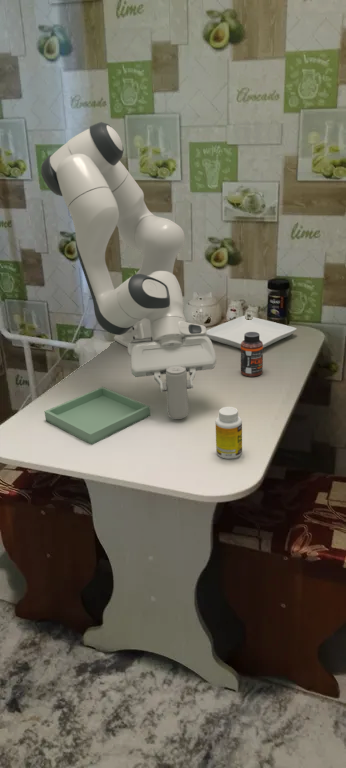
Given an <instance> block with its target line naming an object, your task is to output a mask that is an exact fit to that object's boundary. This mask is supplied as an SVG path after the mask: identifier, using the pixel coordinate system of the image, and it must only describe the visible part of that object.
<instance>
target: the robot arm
mask: <svg viewBox="0 0 346 768" xmlns="http://www.w3.org/2000/svg"><path fill="white" fill-rule="evenodd" d="M123 155H124V146H123V141H122V139H121V137H120V135H119V133H118V132H117V131H116V130H115V129H114V128H113V127H112V126H111V125H110V124H108V123H105V122H102V121H101V122H97V123H94V124H92V125H90V126H89V128H88V129H84V130H83V131H82V132H79V133H78V134H76V135H74V136H73V137H71V138H70V139H69V140H67V142H66V143H65V144H63V145H61V147H59V148H57V150H55V152H53V154H50V155H48V156H47V157H46V158H45V159H44V161H43V162H42V163H41V170H40V175H41V176H42V179H43V182H44V183H45V184H46V186H47V188H48V189H49V191H51V192H52V193H53V194H55V195H56V196H60V197H62V198H63V201H64V203H65V205H66V207H67V209H68V212H69V214H70V216H71V219H72V223H73V228H74V232H75V249H76V252H77V256H78V259H79V263H80V266H81V270H82V272H83V275H84V277H85V280H86V283H87V286H88V289H89V292H90V295H91V299H92V303H93V309H94V310H93V311H94V315H95V319H96V321H97V323H98V324H99V326H100V327H101V328H102V329H103V330H104V331H106V332H108V333H110V334H112V335H114V337H113V340H114V341H115V342H117V343H119V344H121V345H122V346H124V347H126V348H127V354H128V355H129V357H130V368H131V369H130V370H131V374H132V375H133V377H135V378H141V377H150V376H153V378H154V380H155V382H156V383H157V385H159V389H160V392H161V393H163V392H167V384H166V381H164V382H163V381H162V379H161V375H166V369H167V368H168V367H181V366H184V367H185V368H186V371H187V373H188V375H189V376H190V377H189V379H187V390H192V389H194V378H195V376H196V374H197V372H198V371H199V372H200V371H208V370H213V369H214V368H215V367H216V365H217V354H216V351H215V347H214V345H213V342H212V339H210V338H208V337H207V331H206V330H207V328H206V326H205V325H203V324H202V325H201V324H197V323H191V322H187V319H186V317H185V315H184V310H185V309H184V308H185V304H184V297H183V292H182V288H181V286H180V283H179V281H178V279H177V276H176V275H175V274H174V268H175V267H174V266H175V263H176V259H177V256H178V255H179V254H180V253H181V251H183V248H184V246H185V241H186V236H185V232H184V230H183V228H182V227H181V226H180V225H179V224H177V223H176V222H175V221H173V220H171V219H169V218H166V217H161V216H157V215H155V214H154V213H152V212H151V211H150V210H149V208H148V206H147V205H146V201H145V194H144V193H145V192H144V191H143V189H142V188H141V187H140V186H139V184H138V183H137V181H136V180H135V178H134V177H133V175H131V173H130V172H129V171H128V169H127V168H126V166H125V165H124V164H123V163H122V161H121V160H122V158H123ZM116 228H117V229H118V234H119V237H120V239H121V241H122V242H123V243H124V244H125V245H126V246H127V247H128V248H130V249H132V250H133V251H137V252H140V253H141V263H140V268H139V269H138V271H137V272H136V273H135V274H133V275H132V276H130V277H129V278H127V279H126V280H124V281H123V282H122V283H121V284H119V286H117V287H116V288H115V286H114V284H113V281H112V278H111V274H110V271H109V269H108V266H107V262H106V251H107V247H108V244H109V242H110V239H111V237H112V235H113V233H114V231H115V229H116Z"/></svg>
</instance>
